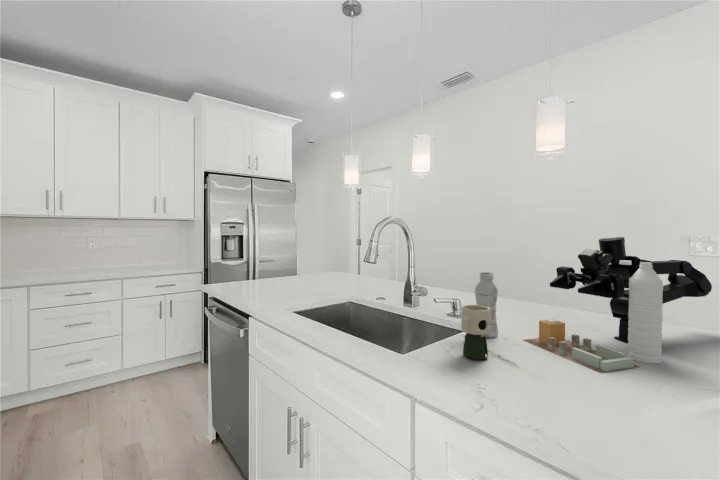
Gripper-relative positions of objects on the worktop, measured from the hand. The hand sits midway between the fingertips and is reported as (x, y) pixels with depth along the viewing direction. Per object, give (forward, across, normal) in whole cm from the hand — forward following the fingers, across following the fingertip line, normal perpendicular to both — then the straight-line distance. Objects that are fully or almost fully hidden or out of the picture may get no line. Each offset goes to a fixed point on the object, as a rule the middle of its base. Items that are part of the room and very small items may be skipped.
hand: (563, 287), depth 94 cm
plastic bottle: (+18, -13, +14) cm, 26 cm away
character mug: (+29, -1, +12) cm, 32 cm away
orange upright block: (+4, -2, +15) cm, 16 cm away
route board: (+4, +6, +16) cm, 18 cm away
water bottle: (-8, +12, +19) cm, 24 cm away
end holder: (+4, +13, +15) cm, 20 cm away
